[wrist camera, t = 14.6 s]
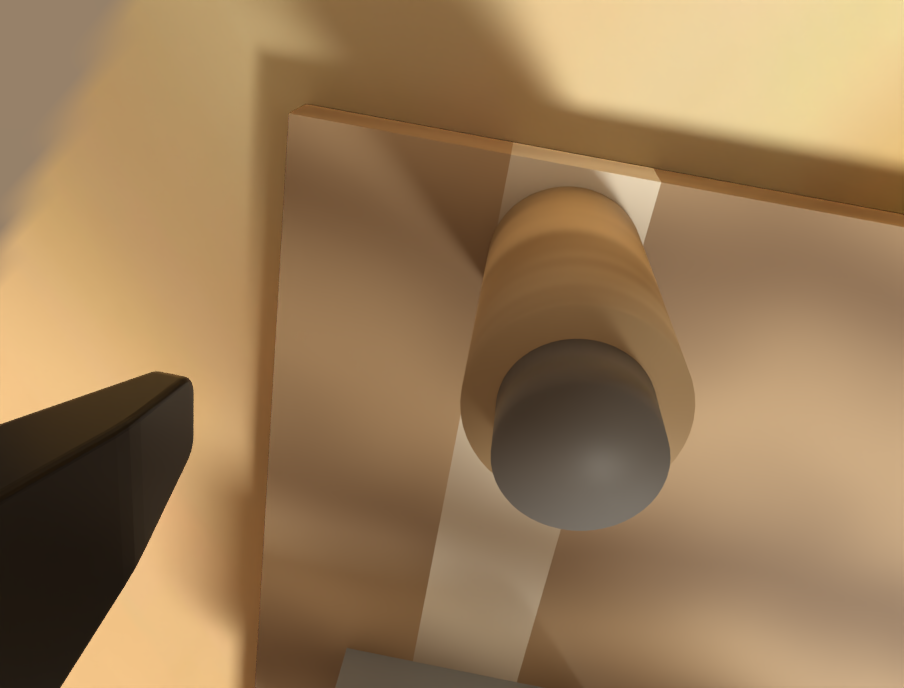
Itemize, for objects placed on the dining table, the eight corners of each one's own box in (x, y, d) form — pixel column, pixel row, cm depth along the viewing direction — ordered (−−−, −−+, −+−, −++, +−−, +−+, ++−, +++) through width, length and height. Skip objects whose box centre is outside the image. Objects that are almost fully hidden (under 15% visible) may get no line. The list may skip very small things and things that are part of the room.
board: (923, 854, 25) (941, 894, 23) (263, 718, 25) (251, 751, 24) (1350, 296, 16) (1409, 321, 14) (305, 103, 16) (288, 113, 15)
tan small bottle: (619, 343, 16) (669, 580, 10) (476, 316, 17) (433, 534, 10) (662, 202, 15) (750, 373, 9) (503, 172, 15) (474, 320, 9)
